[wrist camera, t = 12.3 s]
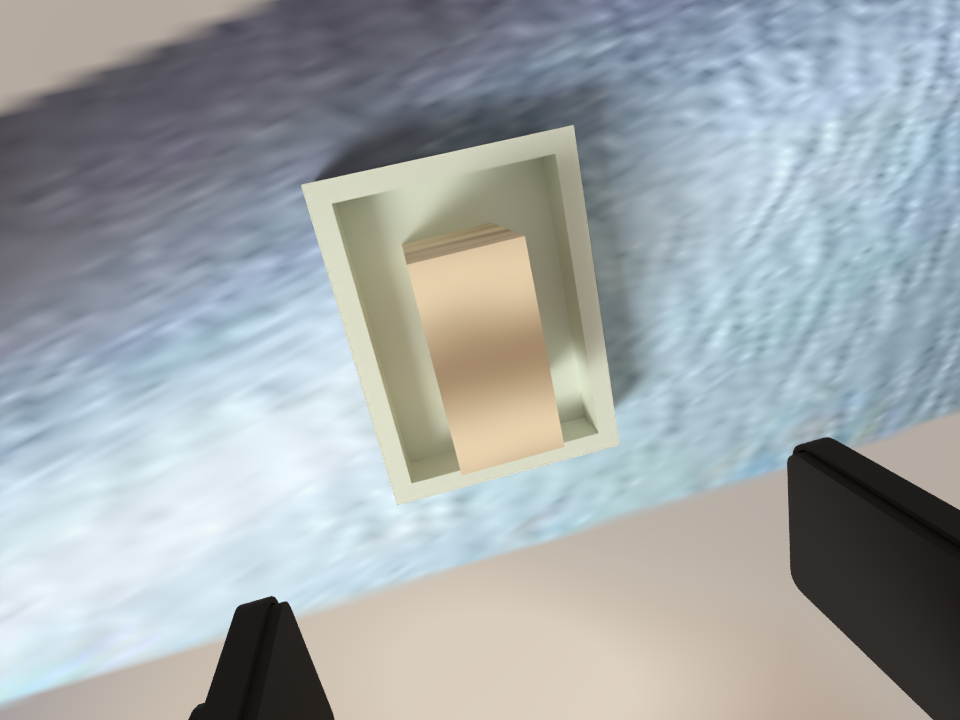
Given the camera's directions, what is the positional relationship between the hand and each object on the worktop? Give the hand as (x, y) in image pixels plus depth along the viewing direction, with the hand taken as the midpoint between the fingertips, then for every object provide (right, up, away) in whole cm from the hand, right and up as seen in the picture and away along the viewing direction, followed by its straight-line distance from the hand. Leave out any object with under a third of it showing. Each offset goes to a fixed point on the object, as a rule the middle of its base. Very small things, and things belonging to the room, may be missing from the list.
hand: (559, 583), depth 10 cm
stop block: (-2, +6, +19) cm, 20 cm away
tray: (-2, +6, +20) cm, 21 cm away
